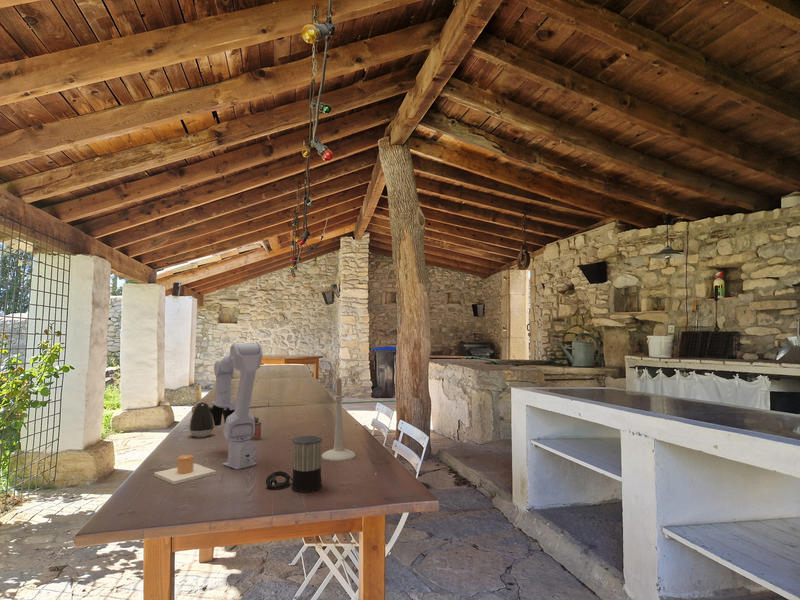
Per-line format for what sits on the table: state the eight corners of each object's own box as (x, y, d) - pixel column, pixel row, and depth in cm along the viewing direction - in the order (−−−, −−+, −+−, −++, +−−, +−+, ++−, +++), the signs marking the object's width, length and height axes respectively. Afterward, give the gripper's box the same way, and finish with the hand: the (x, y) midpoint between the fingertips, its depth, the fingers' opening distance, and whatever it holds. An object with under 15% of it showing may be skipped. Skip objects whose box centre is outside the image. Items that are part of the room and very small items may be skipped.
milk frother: (326, 489, 144) (326, 440, 145) (274, 499, 137) (274, 446, 137) (311, 477, 157) (311, 431, 157) (262, 484, 149) (263, 436, 150)
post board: (215, 474, 160) (216, 459, 160) (173, 484, 149) (174, 468, 149) (195, 466, 169) (195, 452, 169) (154, 475, 158) (154, 461, 158)
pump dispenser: (209, 432, 222) (210, 399, 223) (216, 436, 214) (217, 402, 215) (186, 436, 216) (187, 402, 217) (193, 440, 208) (194, 405, 209)
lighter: (262, 438, 210) (262, 415, 211) (259, 440, 207) (259, 417, 208) (244, 438, 211) (245, 415, 212) (241, 440, 208) (241, 417, 208)
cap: (194, 469, 162) (194, 454, 162) (191, 473, 157) (191, 458, 157) (179, 470, 161) (180, 455, 161) (176, 474, 156) (176, 458, 157)
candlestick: (339, 450, 190) (339, 375, 192) (362, 456, 182) (362, 377, 184) (314, 457, 180) (315, 377, 182) (337, 463, 172) (338, 379, 174)
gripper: (242, 392, 185) (242, 427, 184) (223, 389, 194) (222, 422, 194) (226, 394, 180) (225, 430, 179) (206, 390, 189) (205, 425, 188)
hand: (222, 426), depth 186 cm, fingers open, 7 cm apart
